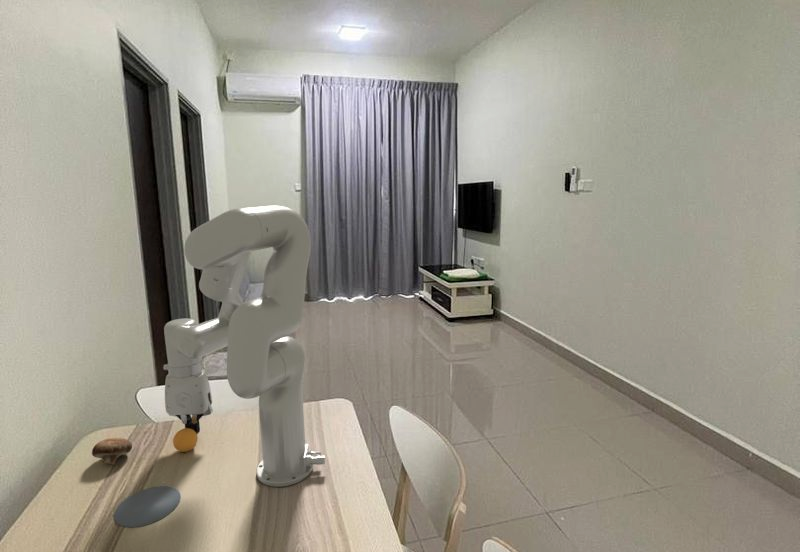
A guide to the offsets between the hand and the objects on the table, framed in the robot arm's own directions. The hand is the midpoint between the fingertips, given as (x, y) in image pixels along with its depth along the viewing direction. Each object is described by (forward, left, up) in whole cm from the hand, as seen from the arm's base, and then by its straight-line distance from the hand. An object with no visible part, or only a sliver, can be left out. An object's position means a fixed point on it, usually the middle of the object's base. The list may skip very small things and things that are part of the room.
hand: (193, 435), depth 117 cm
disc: (0, +24, -1) cm, 24 cm away
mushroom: (+16, +7, -2) cm, 18 cm away
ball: (0, +4, +1) cm, 4 cm away
